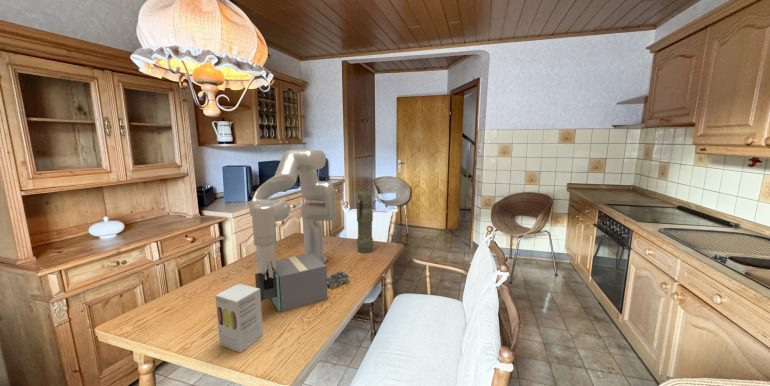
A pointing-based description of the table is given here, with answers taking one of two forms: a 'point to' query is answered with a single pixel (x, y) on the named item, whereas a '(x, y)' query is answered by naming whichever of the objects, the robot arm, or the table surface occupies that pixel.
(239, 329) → the supplement box
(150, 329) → the table surface
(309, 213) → the robot arm
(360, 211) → the thermos
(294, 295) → the carton
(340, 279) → the egg carton
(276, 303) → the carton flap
